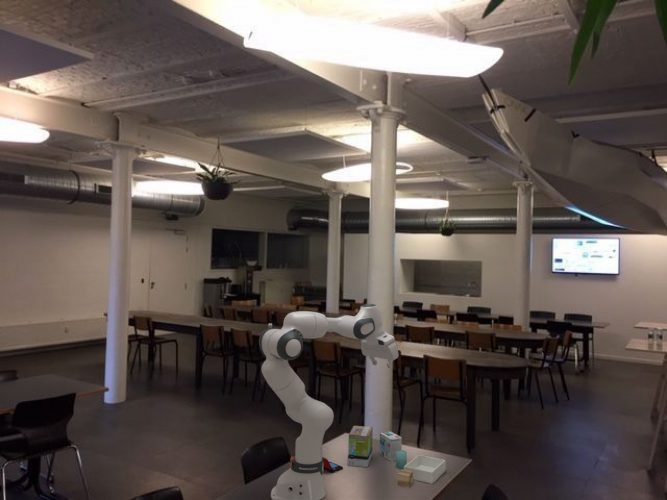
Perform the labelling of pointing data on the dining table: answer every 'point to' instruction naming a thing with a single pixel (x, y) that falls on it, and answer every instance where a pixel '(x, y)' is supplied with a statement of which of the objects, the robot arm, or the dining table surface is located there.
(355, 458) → the tea box
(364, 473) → the dining table surface
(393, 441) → the light bulb box
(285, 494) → the robot arm
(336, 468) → the handheld game console
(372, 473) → the dining table surface
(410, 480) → the oak cube
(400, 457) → the teal cylinder
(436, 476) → the grey tote
